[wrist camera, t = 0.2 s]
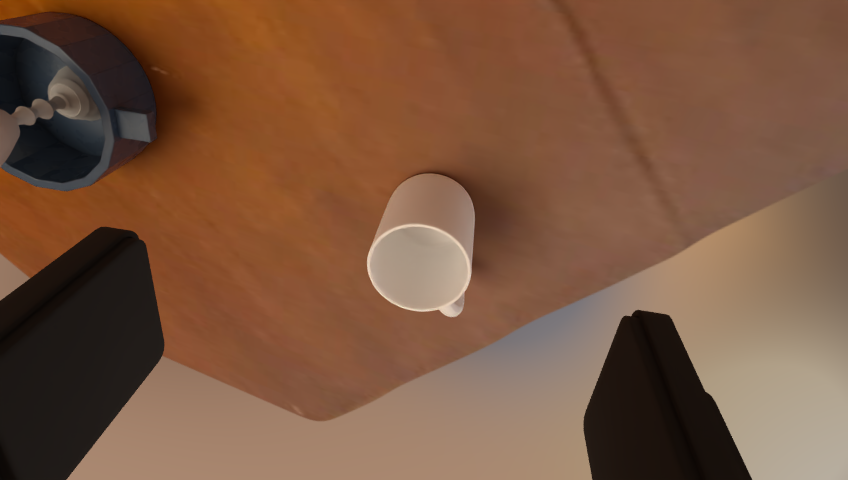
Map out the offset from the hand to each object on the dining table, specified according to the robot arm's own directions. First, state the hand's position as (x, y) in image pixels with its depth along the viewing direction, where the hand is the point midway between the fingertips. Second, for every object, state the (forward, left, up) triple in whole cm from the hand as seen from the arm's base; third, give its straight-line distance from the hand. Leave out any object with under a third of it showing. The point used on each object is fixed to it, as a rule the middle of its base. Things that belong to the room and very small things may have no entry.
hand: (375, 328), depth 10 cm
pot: (+10, -34, -37) cm, 51 cm away
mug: (+18, 0, -37) cm, 41 cm away
